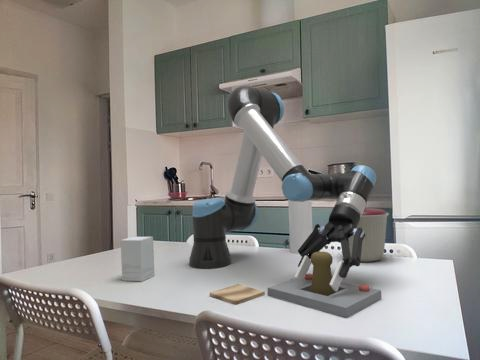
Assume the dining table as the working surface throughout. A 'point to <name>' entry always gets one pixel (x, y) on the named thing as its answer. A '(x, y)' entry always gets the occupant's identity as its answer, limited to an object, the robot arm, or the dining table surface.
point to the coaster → (237, 294)
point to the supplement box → (137, 258)
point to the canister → (372, 234)
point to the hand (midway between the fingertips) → (314, 283)
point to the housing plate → (338, 303)
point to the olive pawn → (321, 273)
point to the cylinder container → (299, 223)
